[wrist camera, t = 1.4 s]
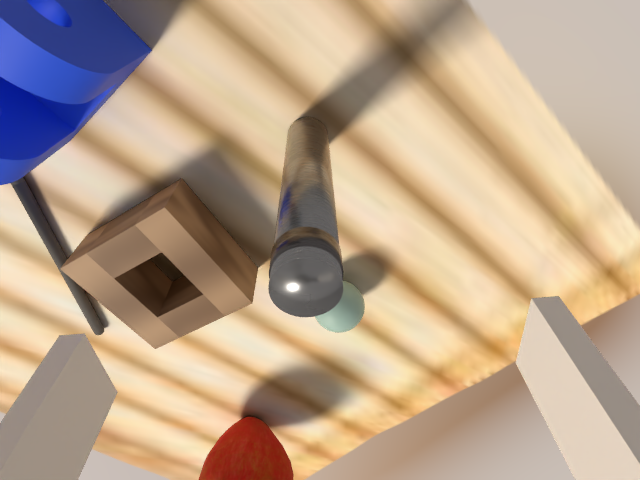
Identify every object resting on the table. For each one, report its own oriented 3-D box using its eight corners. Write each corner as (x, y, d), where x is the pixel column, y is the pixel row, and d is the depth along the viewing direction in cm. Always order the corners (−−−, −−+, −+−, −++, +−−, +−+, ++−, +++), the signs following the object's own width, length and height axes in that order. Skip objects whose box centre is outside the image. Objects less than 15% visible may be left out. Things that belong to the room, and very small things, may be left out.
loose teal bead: (310, 272, 33) (310, 307, 30) (360, 267, 33) (366, 302, 30) (315, 309, 36) (315, 345, 32) (362, 305, 35) (368, 341, 32)
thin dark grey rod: (12, 174, 28) (5, 179, 27) (24, 173, 28) (17, 178, 27) (98, 330, 36) (94, 337, 36) (107, 329, 36) (103, 336, 36)
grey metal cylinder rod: (284, 118, 26) (260, 262, 14) (327, 114, 26) (342, 255, 14) (289, 158, 28) (273, 320, 15) (330, 154, 28) (346, 315, 15)
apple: (302, 402, 43) (301, 521, 34) (284, 447, 47) (278, 562, 38) (217, 389, 41) (192, 510, 32) (207, 437, 46) (182, 554, 37)
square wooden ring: (86, 235, 31) (59, 268, 28) (181, 178, 29) (164, 207, 25) (169, 312, 35) (155, 349, 32) (258, 268, 33) (252, 303, 30)
